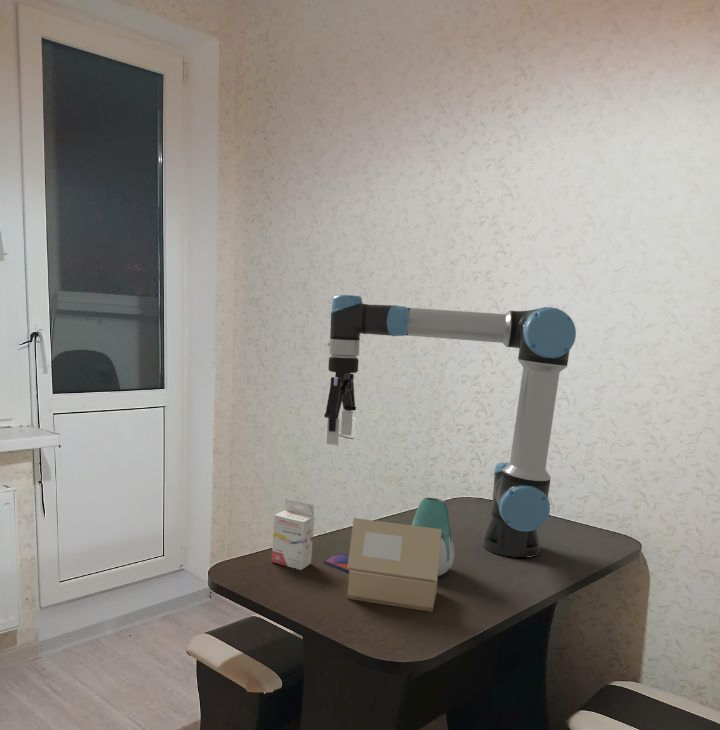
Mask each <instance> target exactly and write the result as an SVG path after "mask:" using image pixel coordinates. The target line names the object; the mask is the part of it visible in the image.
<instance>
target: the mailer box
mask: <svg viewBox="0 0 720 730" xmlns="http://www.w3.org/2000/svg"><path fill="white" fill-rule="evenodd" d="M438 567H439V566H438ZM438 578H439V576H438V574H437V581H435V583H431V582H424V581H417V580H410V579H404V578H397V577H390V576H383V575H376V574H370V573H363V572H356V571H349V573H348V585H347V586H348V587H347V600H353V601H358V602H359V601H361V602H365V603H366V602H367V603H371V604H372V603H373V604H378V605H385V606H392V607H399V608H404V609H411V610H416V611H417V610H418V611H422V612H429V613H433V611H434V608H435V607H434V606H435V601H436V596H437V591H438V580H439V579H438Z"/></svg>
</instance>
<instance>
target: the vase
mask: <svg viewBox="0 0 720 730" xmlns="http://www.w3.org/2000/svg"><path fill="white" fill-rule="evenodd" d="M411 525H412V526H420V527H428V528H435V529H442V531H441V542H440V553H439V563H438V566H439V567H438V577H440V576H442V575H444V574H446V573H447V572H448V571H449V570H450V568H451V567H452V565H453V562H454V557H455V547H454V546H455V545H454V539H453V536H452V529H451V522H450V515H449V509H448V506H447V504H446V501H444V500H443V499H440V498H437V497H424V498H422V500H421V501H420V502H419V504H418V506H417V508H416V511H415V515H414V517H413V519H412V523H411Z"/></svg>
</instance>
